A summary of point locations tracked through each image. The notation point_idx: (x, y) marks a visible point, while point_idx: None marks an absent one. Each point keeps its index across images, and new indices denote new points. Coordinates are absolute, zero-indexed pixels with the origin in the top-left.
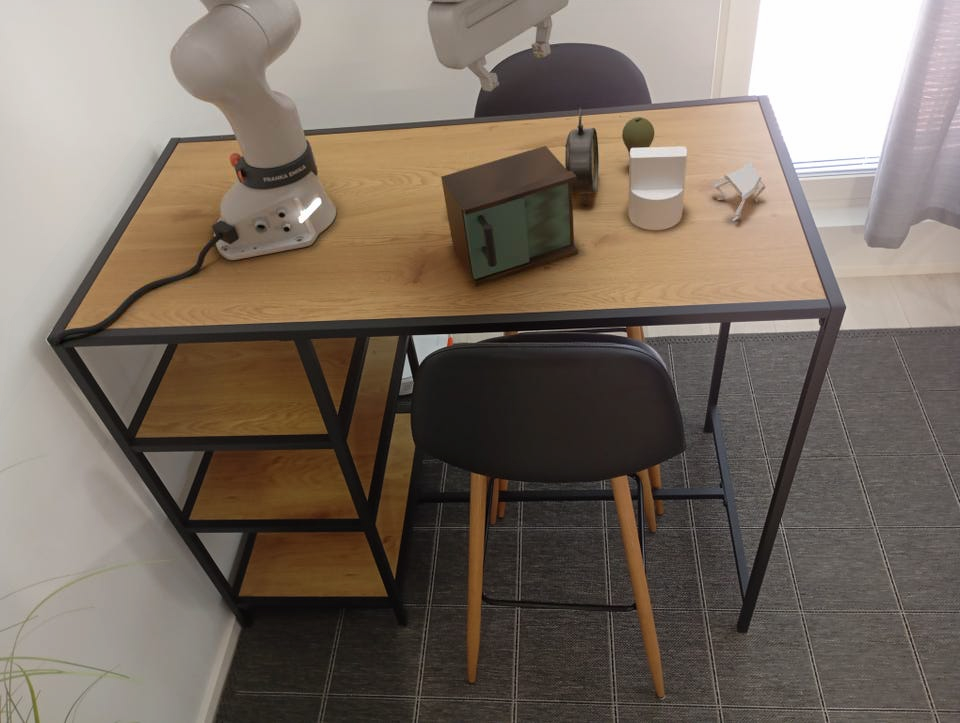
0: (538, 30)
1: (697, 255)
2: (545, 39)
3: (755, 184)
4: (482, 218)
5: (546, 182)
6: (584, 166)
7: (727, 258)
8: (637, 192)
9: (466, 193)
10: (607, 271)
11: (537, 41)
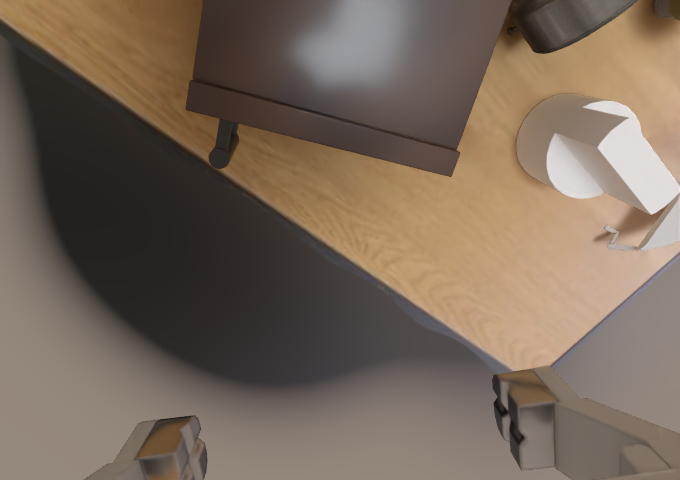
0: (613, 446)
1: (511, 250)
2: (570, 474)
3: (675, 242)
4: (227, 122)
5: (392, 151)
6: (551, 38)
7: (529, 277)
8: (554, 148)
9: (234, 29)
10: (402, 197)
11: (554, 418)
